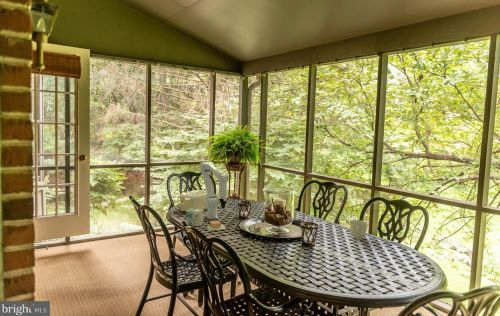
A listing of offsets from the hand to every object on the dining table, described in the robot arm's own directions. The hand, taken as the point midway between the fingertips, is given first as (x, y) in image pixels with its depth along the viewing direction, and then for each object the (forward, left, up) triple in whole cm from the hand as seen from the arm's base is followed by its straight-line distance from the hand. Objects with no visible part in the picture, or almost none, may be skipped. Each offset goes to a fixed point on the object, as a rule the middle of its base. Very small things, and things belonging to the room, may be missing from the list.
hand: (223, 208), depth 260 cm
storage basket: (-44, -13, -11) cm, 47 cm away
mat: (+13, -8, -10) cm, 18 cm away
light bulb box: (-1, -21, -11) cm, 24 cm away
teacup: (+62, +74, -11) cm, 97 cm away
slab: (+6, -8, -9) cm, 13 cm away
